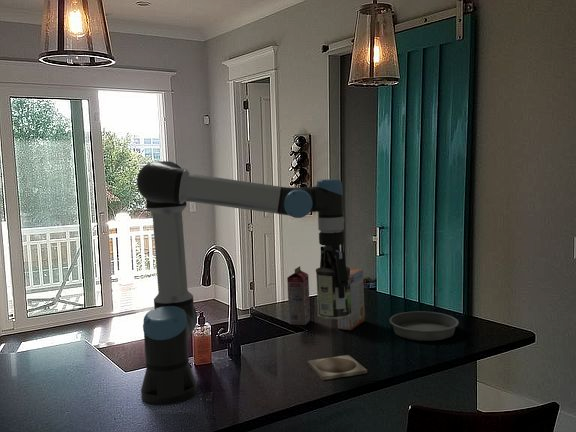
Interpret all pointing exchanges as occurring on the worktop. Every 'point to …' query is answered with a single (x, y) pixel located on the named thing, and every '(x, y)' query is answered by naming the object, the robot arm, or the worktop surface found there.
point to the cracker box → (354, 302)
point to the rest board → (336, 367)
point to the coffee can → (331, 295)
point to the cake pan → (424, 325)
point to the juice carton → (298, 297)
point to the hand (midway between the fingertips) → (334, 304)
